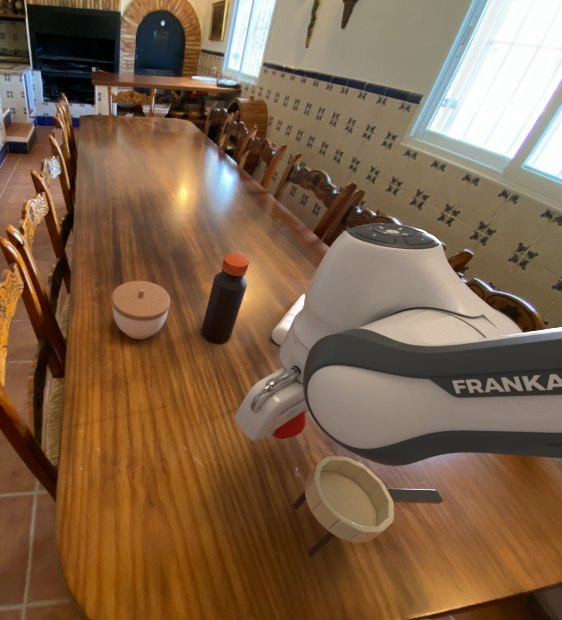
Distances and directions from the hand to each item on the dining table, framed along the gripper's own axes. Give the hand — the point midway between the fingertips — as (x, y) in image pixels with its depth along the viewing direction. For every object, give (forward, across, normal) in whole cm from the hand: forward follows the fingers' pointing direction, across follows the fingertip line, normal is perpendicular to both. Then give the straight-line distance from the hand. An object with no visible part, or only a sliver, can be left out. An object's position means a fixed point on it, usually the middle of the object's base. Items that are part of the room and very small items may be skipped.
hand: (283, 421), depth 51 cm
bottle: (+13, +15, +27) cm, 34 cm away
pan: (+13, +3, -13) cm, 18 cm away
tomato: (+2, 0, 0) cm, 2 cm away
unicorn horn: (+13, +35, +22) cm, 44 cm away
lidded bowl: (+13, 0, +37) cm, 40 cm away
